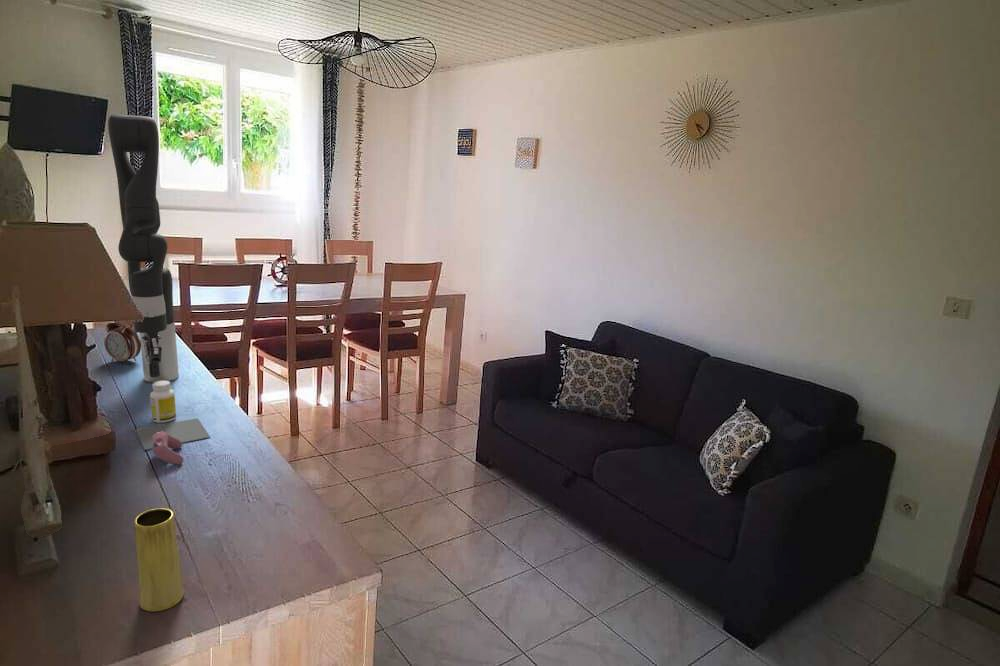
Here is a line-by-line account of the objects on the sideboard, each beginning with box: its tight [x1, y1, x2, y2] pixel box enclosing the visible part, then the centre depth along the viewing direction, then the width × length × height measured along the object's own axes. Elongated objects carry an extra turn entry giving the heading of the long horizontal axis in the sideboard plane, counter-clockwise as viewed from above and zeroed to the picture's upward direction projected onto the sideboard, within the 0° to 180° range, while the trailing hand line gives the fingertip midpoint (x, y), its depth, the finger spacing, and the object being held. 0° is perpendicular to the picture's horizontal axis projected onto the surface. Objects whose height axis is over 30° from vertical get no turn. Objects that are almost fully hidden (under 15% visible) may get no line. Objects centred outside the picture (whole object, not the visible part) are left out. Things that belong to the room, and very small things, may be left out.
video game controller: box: [151, 431, 184, 466], centre depth 140 cm, size 10×5×7 cm, turn 28°
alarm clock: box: [103, 322, 141, 365], centre depth 198 cm, size 11×5×15 cm, turn 73°
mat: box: [135, 417, 211, 451], centre depth 152 cm, size 13×14×1 cm
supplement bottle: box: [149, 381, 177, 424], centre depth 159 cm, size 5×5×10 cm
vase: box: [133, 507, 185, 612], centre depth 95 cm, size 6×6×14 cm
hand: (154, 376), depth 164 cm, fingers closed
